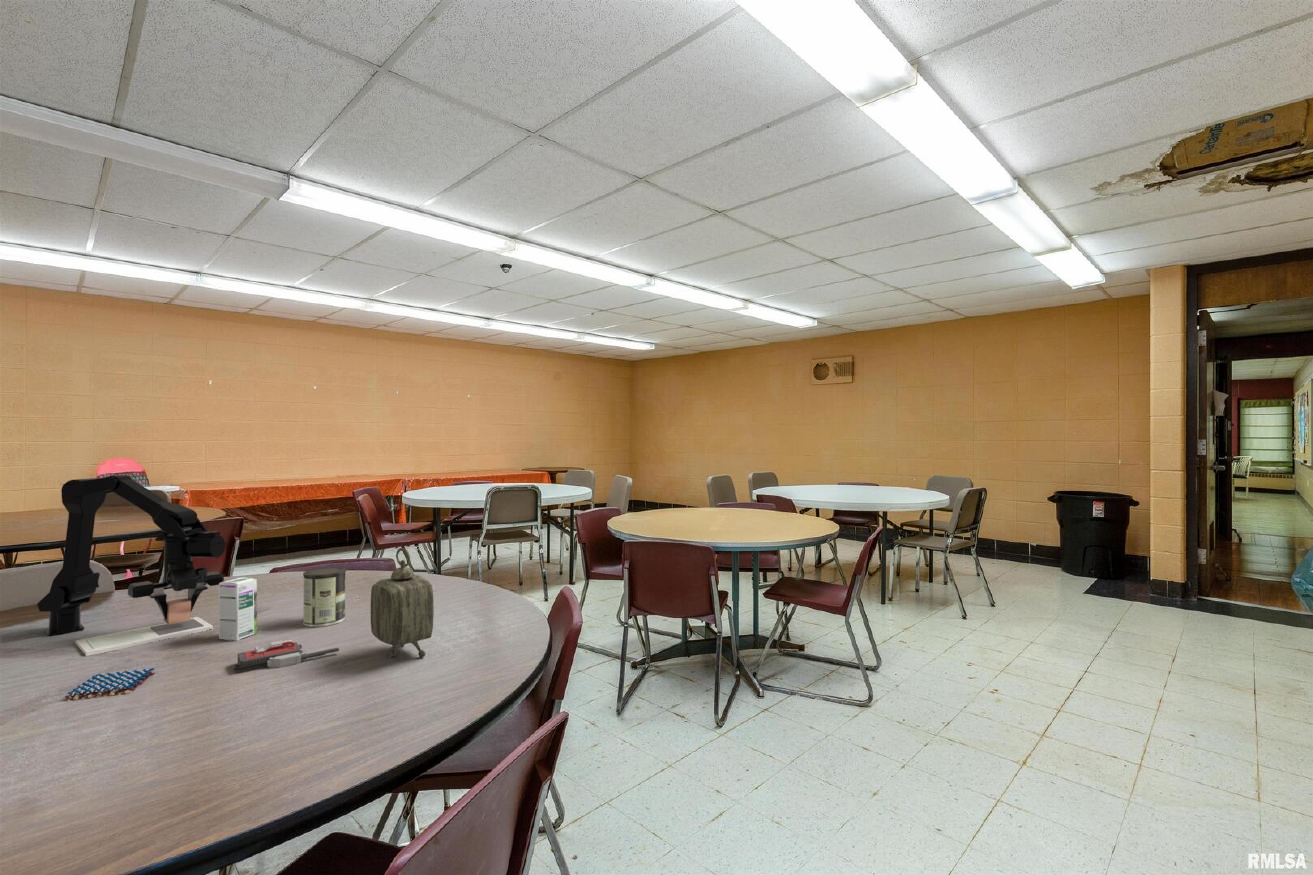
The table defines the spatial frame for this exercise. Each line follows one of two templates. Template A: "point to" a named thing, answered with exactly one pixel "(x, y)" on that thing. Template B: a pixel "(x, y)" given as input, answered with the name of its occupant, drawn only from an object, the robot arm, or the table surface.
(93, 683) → the woven mat
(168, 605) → the terracotta block
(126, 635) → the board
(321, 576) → the coffee can
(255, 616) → the syrup box
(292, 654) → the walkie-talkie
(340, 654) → the table surface
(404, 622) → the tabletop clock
